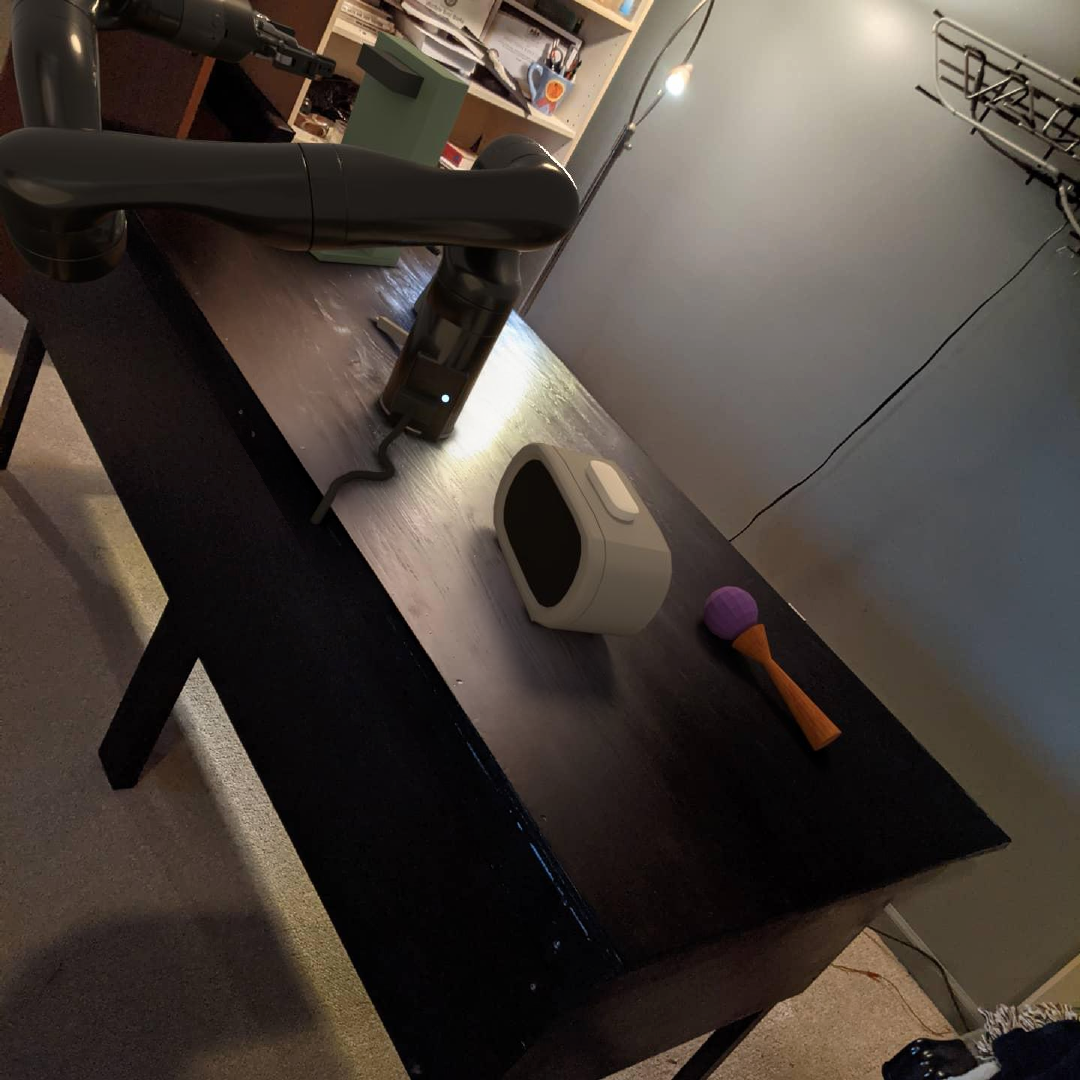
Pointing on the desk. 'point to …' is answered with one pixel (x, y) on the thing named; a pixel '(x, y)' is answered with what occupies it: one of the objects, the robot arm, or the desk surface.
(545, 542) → the alarm clock
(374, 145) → the coffee maker
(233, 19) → the robot arm
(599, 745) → the desk surface
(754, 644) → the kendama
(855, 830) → the desk surface
